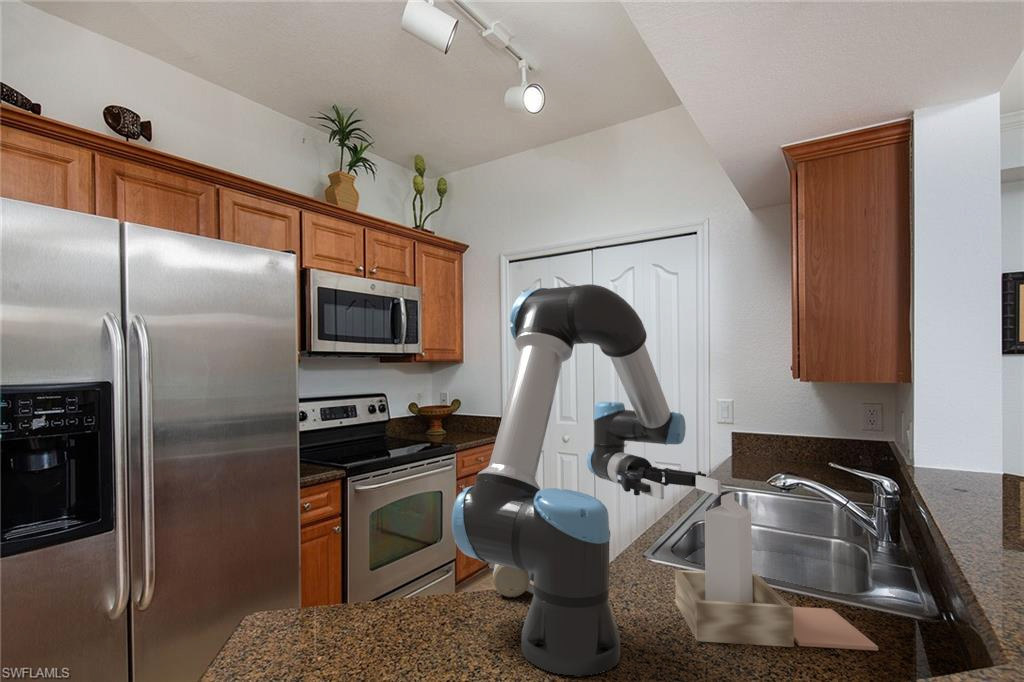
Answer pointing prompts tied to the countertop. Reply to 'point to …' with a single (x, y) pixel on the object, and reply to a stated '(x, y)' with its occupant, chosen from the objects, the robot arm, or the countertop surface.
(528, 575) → the ceramic mug
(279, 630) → the countertop surface
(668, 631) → the countertop surface
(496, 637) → the countertop surface
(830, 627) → the mat
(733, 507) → the milk
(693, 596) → the holder
